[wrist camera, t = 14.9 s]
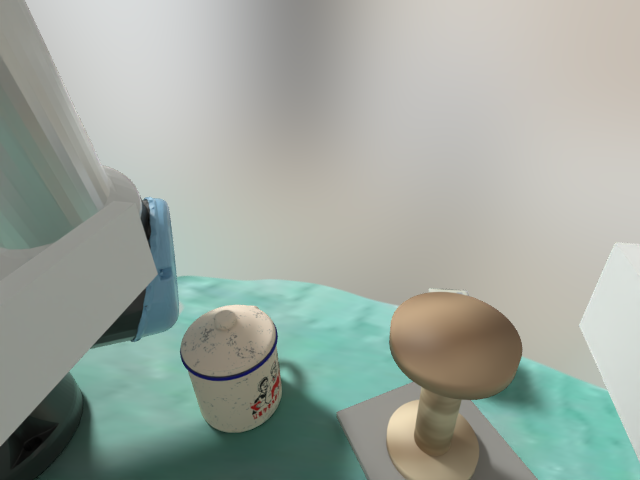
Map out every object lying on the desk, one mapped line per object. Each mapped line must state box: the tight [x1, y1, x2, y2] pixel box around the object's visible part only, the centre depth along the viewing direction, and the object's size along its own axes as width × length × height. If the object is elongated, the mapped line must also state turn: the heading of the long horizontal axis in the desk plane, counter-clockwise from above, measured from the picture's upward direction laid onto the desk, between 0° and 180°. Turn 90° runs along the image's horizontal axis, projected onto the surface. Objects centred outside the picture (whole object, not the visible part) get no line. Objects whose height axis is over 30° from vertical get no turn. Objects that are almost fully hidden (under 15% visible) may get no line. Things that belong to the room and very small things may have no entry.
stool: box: [386, 292, 522, 480], centre depth 33 cm, size 9×9×14 cm
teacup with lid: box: [180, 305, 282, 433], centre depth 41 cm, size 12×9×12 cm
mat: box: [337, 382, 538, 480], centre depth 37 cm, size 13×13×1 cm
